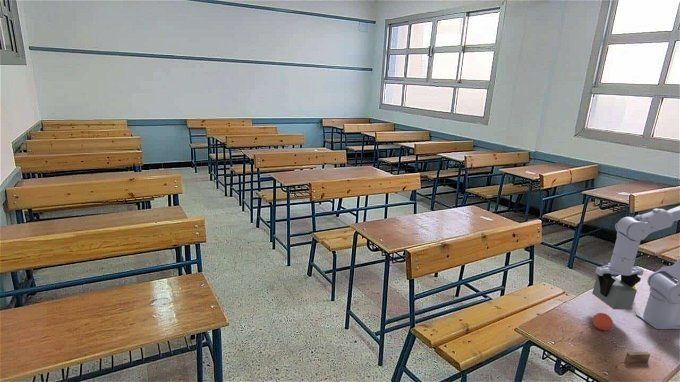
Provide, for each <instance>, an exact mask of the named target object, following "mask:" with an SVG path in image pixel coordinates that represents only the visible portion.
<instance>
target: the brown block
mask: <svg viewBox="0 0 680 382" xmlns="http://www.w3.org/2000/svg"><path fill="white" fill-rule="evenodd" d="M650 358H651V353H649V352H648V351H632V352H631V351H628V352H626V355H625V358H624V361H625V362H626V363H627V364H628V363H633V364H634V363H649V360H650Z"/></svg>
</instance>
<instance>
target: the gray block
mask: <svg viewBox="0 0 680 382" xmlns="http://www.w3.org/2000/svg"><path fill="white" fill-rule="evenodd" d="M611 276H612V278H613V279H615V280H616V281H615V282H614V283H613V284H612V286H611V288H610V291H609V294H608V295H607V297H605V296H603V295H602V294H600V283H599V279H598V276H597V275H596V278H595V282H594V285H593V290H592V292H591V293H592V295H594V297H596V298H597V299H598V300H600V301H602V302H603V303H604V304H606V305H607V306H609V307H610V308H611V309H612V310H632V309H633V305H634V302H635V298H636V295H637V292H638V290H635V289H633V288H632V287H630V286H629V285H627V284H625V283H624V282H622V281H621V279H619V278H617V277H616V276H614V275H611Z"/></svg>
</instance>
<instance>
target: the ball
mask: <svg viewBox="0 0 680 382" xmlns="http://www.w3.org/2000/svg"><path fill="white" fill-rule="evenodd" d="M592 323H593V325H594V326H595V327H596V328H597V329H599V330H600V331H608V330H610V329H611V328H612V327H613V325H614V322H613V319H612V318H611V316H610V315H608V314H606V313H604V312H598V313H596V314H595V315H593V318H592Z"/></svg>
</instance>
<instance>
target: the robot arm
mask: <svg viewBox="0 0 680 382" xmlns="http://www.w3.org/2000/svg"><path fill="white" fill-rule="evenodd" d="M679 220H680V205H678V206H676V207H673V208H670V209H668V210H666V209H664V208H657V207H656V208H652V211H649V212H645V213H642V214H637V215H635V216H625V217H622V218H621V219H619V220H618V222H617V223H615V225H614V229H615V230H616V240H615V243H614V248H613V250H612V255H611V258H610V262H608V263H607V265H603V266H597V267H596V269H595V272H594V273H595V274H596V277H597V276H598V279H599V283H600V294H602V295H603V296H605V297H607V295H608V294H609V291H610V288H611V286H612V284H613V283H614V282H615V281H616V280H615V279H613V278H612V276H614V275H616V276H618V275H619V276H620V280H621V281H622V282H624V283H625V284H627V285H629V286H630V287H633V286H636V285H637V284H638V283H640V282H641V279H642V278H641V277H642V276H643V275H644V271H645V270H644V268H641V267H639V266H637V267H634V266H635V262H636V257H637V255H638V250H639V248H640V244H641V241H643V240H645V239H646V238H647V237H648V235H650V234H652V233H654V232H658V231H660V230H661V231H662V230H663V229H664V230H665V229H667V228H670V227H672V226H673V224H674V222H676V221H679ZM637 275H638V276H637ZM640 276H641V277H640ZM646 282H647V285H648V287H650V288H649V291H650V292H649V296H648V298H647V301H646V305H645V308H644V311H643V312H636V313H635V315H636V316H637V317H639V318H640V319H641V320H643V321H644V322H646V323H647V324H649V325H650V326H652V327H653V328H655V329H656V330H679V329H680V258H678V259H677V261H675V262H674V264H672V265H666V266H662V267H661V268H660V269H658V270H657V271H655V272H652V273H651V274H650V275H649V276H648V277H647V281H646Z"/></svg>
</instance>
